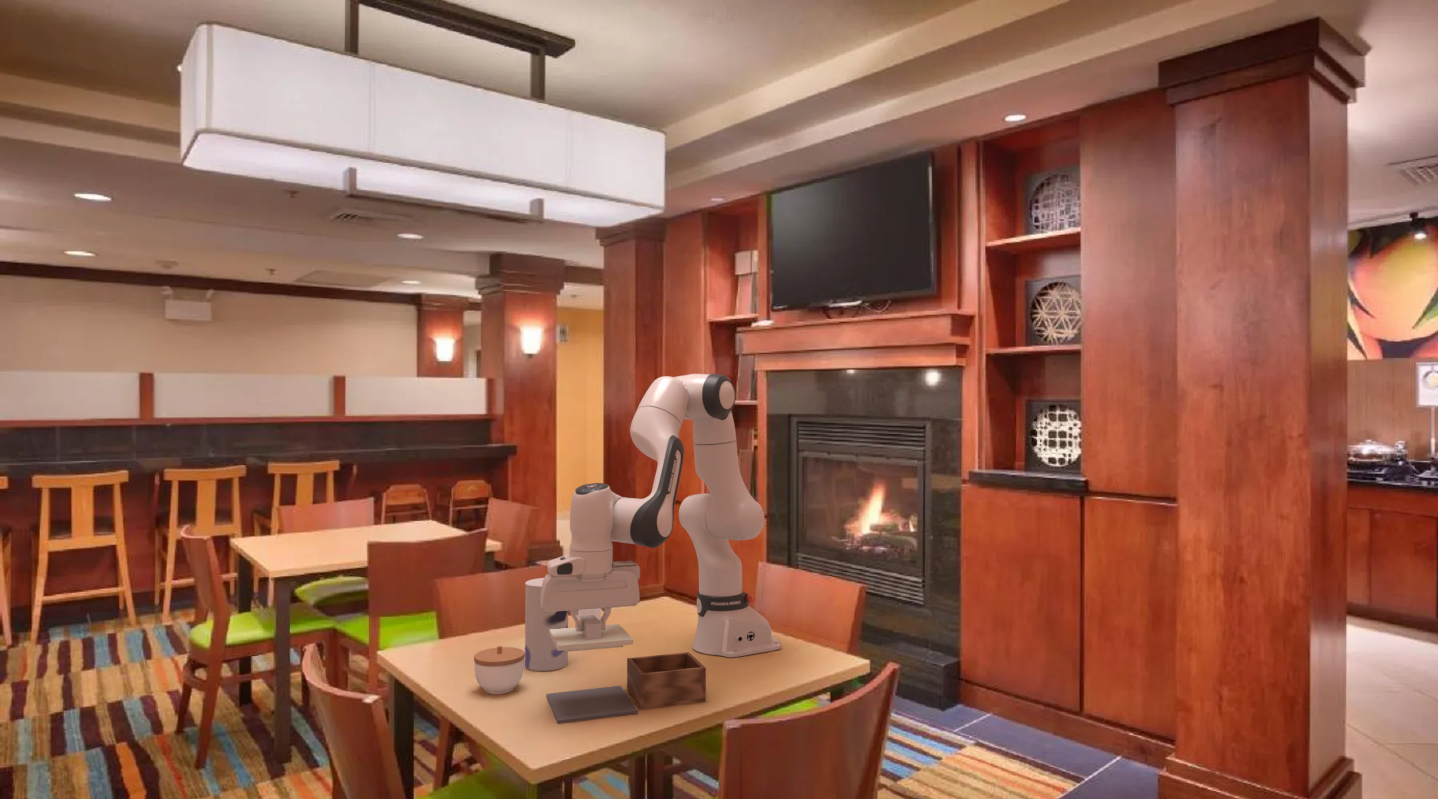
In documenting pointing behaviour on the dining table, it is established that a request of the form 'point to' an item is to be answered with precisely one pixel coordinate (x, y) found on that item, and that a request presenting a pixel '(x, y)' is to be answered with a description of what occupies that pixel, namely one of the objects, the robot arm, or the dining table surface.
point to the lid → (590, 636)
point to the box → (666, 680)
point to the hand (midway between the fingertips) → (590, 630)
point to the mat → (590, 704)
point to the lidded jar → (499, 669)
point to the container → (542, 631)
